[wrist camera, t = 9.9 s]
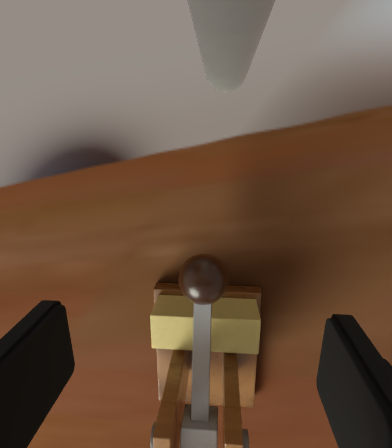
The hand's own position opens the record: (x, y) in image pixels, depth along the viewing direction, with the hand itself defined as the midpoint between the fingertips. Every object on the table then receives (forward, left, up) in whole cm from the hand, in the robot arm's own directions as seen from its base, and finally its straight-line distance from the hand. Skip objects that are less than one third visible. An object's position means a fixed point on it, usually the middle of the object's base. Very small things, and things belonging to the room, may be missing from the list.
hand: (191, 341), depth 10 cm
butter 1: (+7, -2, -13) cm, 15 cm away
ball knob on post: (+7, 0, -8) cm, 11 cm away
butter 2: (+7, +2, -13) cm, 15 cm away
